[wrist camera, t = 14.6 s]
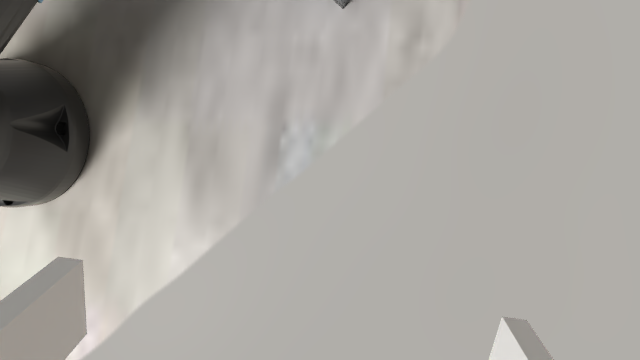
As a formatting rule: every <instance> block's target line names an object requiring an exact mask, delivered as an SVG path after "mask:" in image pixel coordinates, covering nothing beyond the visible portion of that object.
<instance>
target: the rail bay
mask: <svg viewBox="0 0 640 360" xmlns="http://www.w3.org/2000/svg"><path fill="white" fill-rule="evenodd" d="M334 1H335V2H336V3H337V4H338V5H339V6H341V7H342V8H344V7H345V6H346V5H347V4H348V2H349V1H350V0H334Z"/></svg>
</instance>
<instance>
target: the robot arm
mask: <svg viewBox="0 0 640 360" xmlns="http://www.w3.org/2000/svg"><path fill="white" fill-rule="evenodd" d="M42 1H43V0H0V54H1V52H2V51H3V50H4V48H5V47H6V45H7V44H8V42H9V41H10V40H11V38H12V37H13V35H14V34H15V33H16V31H17V30H18V28H19V27H20V26H21V24H22V23H23V21H24V20H25V18H26V17H27V16H28V14H29V13H30V11H31V10H32V9H33V7H34V6H35V4H36V3H37V2H39V3H42ZM88 146H89V124H88V119H87V114H86V111H85V108H84V105H83V103H82V101H81V99H80V97H79V95H78V93H77V92H76V90H75V89H74V87H73V86H72V85H71V84H70V83H69V82H68V81H67V80H66V79H65V78H64V77H63V76H62V75H60V74H59V73H58V72H56V71H54V70H53V69H51V68H48V67H46V66H43V65H40V64H36V63H33V62H29V61H26V60H21V59H14V58H3V59H0V206H2V207H24V206H33V205H39V204H43V203H46V202H49V201H51V200H53V199H55V198H57V197H58V196H60V195H61V194H63V193H64V192H65V191H66V190H67V189H68V188H69V187H70V186H71V185H72V184H73V183H74V181H75V180H76V179H77V177H78V175H79V174H80V172H81V170H82V168H83V165H84V163H85V160H86V156H87V152H88ZM86 334H87V329H86V310H85V292H84V274H83V260H78V259H70V258H63V257H57V258H56V259H55V260H53V261H52V262H51V263H50V264H48V265H47V266H46V267H44V268H43V269H42V270H40V271H39V272H38V273H37V274H35V275H34V276H33V277H31V278H30V279H29V280H27V281H26V282H25V283H23V284H22V285H21V286H20V287H18V288H17V289H16V290H14V291H13V292H12V293H10V294H9V295H8V296H7V297H5V298H4V299H3V300H1V301H0V360H65V358H66V357H67V356H68V355H69V354H70V353H71V351H72V350H73V349H74V348H75V347H76V346H77V345H78V343H79V342H80V341H81V340H82V339H83V338H84V336H85V335H86ZM489 360H554V359H553V358H552V357H551V355H550V354H549V352H548V351H547V349H546V348H545V346H544V345H543V343H542V342H541V340H540V339H539V337H538V336H537V335H536V333H535V332H534V330H533V329H532V327H531V326H530V324H529V323H528V321H527V320H522V319H515V318H508V317H502V319H501V322H500V326H499V329H498V332H497V335H496V338H495V341H494V345H493V348H492V351H491V354H490V357H489Z"/></svg>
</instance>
